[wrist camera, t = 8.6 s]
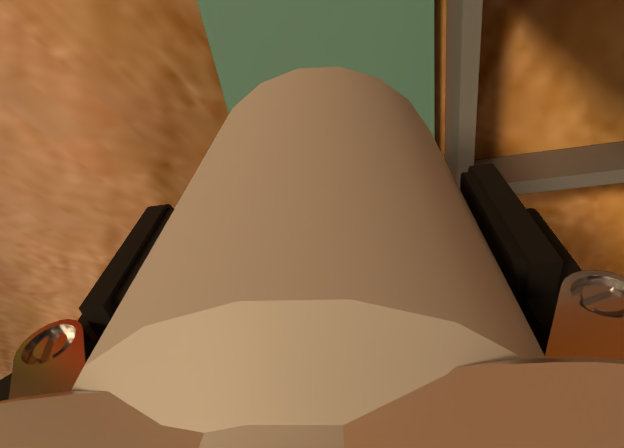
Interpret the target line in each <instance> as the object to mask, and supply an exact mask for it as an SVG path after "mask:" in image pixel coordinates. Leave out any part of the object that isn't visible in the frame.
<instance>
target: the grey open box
mask: <svg viewBox="0 0 624 448" xmlns="http://www.w3.org/2000/svg"><path fill="white" fill-rule="evenodd" d="M482 8H483V0H447V17H446V98H445V161H446V163H447V165H448V167H449V169H450V171H451V173H452V175H453V177H454V179H455V181H456V183H457V185H458V187H459V189H460V178H461V173H462V172H468V168H469V166H474V165H482V164H490V163H493V164H494V165H495V167H496V168H497V169H498V171H499V172H500V173H501V175H502V176H503V178H504V179H505V180H506V182H507V183H508V185H509V186H510V187H511V189H512V190H513V192H514V193H515V194H516V195H521V194H529V193H538V192H547V191H555V190H564V189H573V188H581V187H590V186H599V185H607V184H616V183H624V141H622V142H614V143H606V144H598V145H590V146H582V147H575V148H567V149H559V150H551V151H543V152H535V153H527V154H519V155H511V156H504V157H496V158H488V159H480V160H474V153H475V135H476V117H477V99H478V81H479V62H480V44H481V26H482Z"/></svg>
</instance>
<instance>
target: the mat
mask: <svg viewBox="0 0 624 448" xmlns="http://www.w3.org/2000/svg"><path fill="white" fill-rule="evenodd" d="M197 2H198V6H199V9H200V13H201V17H202V20H203V24H204V27H205V31H206V34H207V38H208V41H209V45H210V48H211V52H212V56H213V59H214V63H215V66H216V70H217V73H218V77H219V80H220V84H221V87H222V91H223V95H224V98H225V102H226V105H227V109H228V112H229V114H230V112H231V110H232V108H233V107H234V106H235V105H237V104H238V103H239V102H240V101H241V100H242V99H243V98H245V97H246V96H247V95H248V94H249V93H250V92H251V91H253V90H254V89H255V88H256V87H257V86H258V85H259V84H261V83H263V82H265V81H268V80H270V79H273V78H275V77H278V76H280V75H283V74H285V73H288V72H290V71H293V70H295V69H300V68H319V67H342V68H345V69H349V70H352V71H356V72H359V73H363V74H367V75H370V76H374V77H377V78H379V79H380V80H381V81H383V82H384V83H386V84H387V85H389V86H390V87H391V88H393V89H394V90H396V91H397V92H399V93H400V94H401V95H403V96H404V97H406V98H407V99H409V101H410V102H411V104H412V105H413V107H414V108H415V109H416V111H417V112H418V114H419V115H420V117H421V118H422V120H423V121H424V122H425V124H426V125H427V127H428V128H429V130H430V132H431V134H432V136H433V138H434V140H435V127H434V0H197Z"/></svg>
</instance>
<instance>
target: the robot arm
mask: <svg viewBox="0 0 624 448" xmlns="http://www.w3.org/2000/svg"><path fill="white" fill-rule="evenodd" d="M460 191H461V193H462V195H463V196H464V198H465V200H466V202H467V204H468V206H469V208H470V210H471V212H472V214H473V216H474V218H475V220H476V222H477V224H478V226H479V228H480V230H481V232H482V234H483V236H484V238H485V240H486V242H487V244H488V246H489V248H490V249H491V251H492V253H493V255H494V257H495V259H496V261H497V263H498V265H499V267H500V269H501V271H502V273H503V275H504V277H505V279H506V281H507V283H508V285H509V287H510V289H511V291H512V293H513V295H514V297H515V299H516V300H517V302H518V304H519V306H520V308H521V310H522V312H523V314H524V316H525V318H526V320H527V322H528V324H529V326H530V328H531V330H532V332H533V334H534V336H535V338H536V340H537V342H538V344H539V346H540V348H541V350H542V351H543V353H544V355H545V358H533V359H511V360H501V361H491V362H484V363H477V364H470V365H464V366H458V367H455V368H454V369H453V370H451V371H450V372H449V373H448V374H446V375H444V376H442V377H440V378H438V379H436V380H434V381H432V382H430V383H428V384H426V385H424V386H422V387H420V388H418V389H416V390H414V391H412V392H410V393H408V394H406V395H404V396H402V397H400V398H398V399H396V400H394V401H391V402H389V403H387V404H385V405H383V406H381V407H379V408H377V409H375V410H373V411H371V412H369V413H367V414H365V415H363V416H361V417H359V418H357V419H355V420H353V421H351V422H349V423H347V424H344V425H343V435H344V448H624V277H623V276H621V275H618V274H614V273H611V272H607V271H599V270H585V271H582V270H581V269H580V267H579V266H578V265H577V263H576V262H575V261H574V259H573V258H572V257H571V255H570V254H569V253H568V251H567V250H566V249H565V248H564V246H563V245H562V244H561V242H560V241H559V240H558V238H557V237H556V236H555V234H554V233H553V232H552V230H551V229H550V228H549V226H548V225H547V224H546V222H545V221H544V220H543V218H542V217H541V216H540V214H539V213H538V212H537V211H536V210H535V209H532V208H529V209H526V208H525V207H524V206H523V204H522V203H521V201H520V200H519V199H518V197H517V196H516V194H515V193H514V192H513V190H512V189H511V187H510V186H509V185H508V183H507V182H506V180H505V179H504V178H503V176H502V175H501V173H500V172H499V171H498V169H497V168H496V167H495V165H494V164H493V163H490V164H482V165H474V166H469V168H468V172H462V173H461V178H460ZM173 211H174V209H173V207H172V206H171V205H169V204H166V205H158V206H151V207H148V208H147V209H146V210H145V212H144V213H143V215H142V216H141V218H140V219H139V221H138V222H137V224H136V225H135V226H134V228H133V229H132V231H131V232H130V234H129V235H128V237H127V238H126V240H125V241H124V243H123V244H122V246H121V247H120V248H119V250H118V251H117V253H116V254H115V256H114V257H113V259H112V260H111V262H110V263H109V265H108V266H107V268H106V269H105V271H104V272H103V273H102V275H101V276H100V278H99V279H98V281H97V282H96V284H95V285H94V287H93V288H92V290H91V291H90V293H89V294H88V296H87V297H86V298H85V300H84V301H83V303H82V304H81V306H80V307H79V310H80V311H81V313H82V315H81V317H80V318H79V320H78V321H76V320H71V319H66V320H59V321H56V322H53V323H51V324H48V325H46V326H44V327H42V328H41V329H39V330H37V331H36V332H35V333H33V334H32V335H30V336H29V337H28V338H27V339H26V340H25V341H24V342H23V343H22V344H21V345H20V347H19V348H18V350H17V351H16V354H15V357H14V360H13V368H12V373H11V374H9V375H8V376H6V377H4V378H3V379H1V380H0V448H199V446H200V443H201V440H202V438H203V435H204V433H202V432H197V431H191V430H186V429H180V428H174V427H169V426H163V425H161V424H159V423H158V422H156V421H154V420H153V419H151V418H150V417H148V416H146V415H145V414H143V413H142V412H140V411H139V410H137V409H135V408H134V407H132V406H131V405H129V404H127V403H126V402H124V401H123V400H121V399H120V398H118V397H116V396H115V395H113V394H112V393H110V392H109V391H71V390H72V388H73V386H74V384H75V382H76V380H77V379H78V377H79V375H80V373H81V371H82V369H83V367H84V365H85V364H86V362H87V360H88V358H89V357H90V355H91V353H92V351H93V350H94V348H95V346H96V345H97V343H98V341H99V339H100V338H101V336H102V334H103V332H104V331H105V329H106V327H107V325H108V324H109V322H110V320H111V318H112V317H113V315H114V313H115V312H116V310H117V308H118V306H119V305H120V303H121V301H122V299H123V298H124V296H125V294H126V292H127V291H128V289H129V287H130V285H131V284H132V282H133V280H134V279H135V277H136V275H137V273H138V272H139V270H140V268H141V266H142V265H143V263H144V261H145V259H146V258H147V256H148V254H149V252H150V251H151V249H152V247H153V246H154V244H155V242H156V240H157V239H158V237H159V235H160V233H161V232H162V230H163V228H164V226H165V225H166V223H167V221H168V220H169V218H170V216H171V214H172V213H173Z"/></svg>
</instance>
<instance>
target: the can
mask: <svg viewBox="0 0 624 448" xmlns="http://www.w3.org/2000/svg"><path fill="white" fill-rule="evenodd" d="M533 358H545V355H544V353H543V351H542V350H541V348H540V346H539V344H538V342H537V340H536V338H535V336H534V334H533V332H532V330H531V328H530V326H529V324H528V322H527V320H526V318H525V316H524V314H523V312H522V310H521V308H520V306H519V304H518V302H517V300H516V299H515V297H514V295H513V293H512V291H511V289H510V287H509V285H508V283H507V281H506V279H505V277H504V275H503V273H502V271H501V269H500V267H499V265H498V263H497V261H496V259H495V257H494V255H493V253H492V251H491V249H490V248H489V246H488V244H487V242H486V240H485V238H484V236H483V234H482V232H481V230H480V228H479V226H478V224H477V222H476V220H475V218H474V216H473V214H472V212H471V210H470V208H469V206H468V204H467V202H466V200H465V198H464V196H463V195H462V193H461V191H460V189H459V187H458V185H457V183H456V181H455V179H454V177H453V175H452V173H451V171H450V169H449V167H448V165H447V163H446V161H445V159H444V157H443V155H442V153H441V151H440V149H439V147H438V145H437V144H436V142H435V140H434V138H433V136H432V134H431V132H430V130H429V128H428V127H427V125H426V124H425V122H424V121H423V120H422V118H421V117H420V115H419V114H418V112H417V111H416V109H415V108H414V107H413V105H412V104H411V102H410V101H409V99H407V98H406V97H404V96H403V95H401V94H400V93H399V92H397V91H396V90H394V89H393V88H391V87H390V86H389V85H387V84H386V83H384V82H383V81H381V80H380V79H379V78H377V77H374V76H370V75H367V74H363V73H359V72H356V71H352V70H349V69H345V68H342V67H319V68H300V69H295V70H293V71H290V72H288V73H285V74H283V75H280V76H278V77H275V78H273V79H270V80H268V81H265V82H263V83H261V84H259V85H258V86H257V87H256V88H255V89H254V90H253V91H251V92H250V93H249V94H248V95H247V96H246V97H245V98H243V99H242V100H241V101H240V102H239V103H238V104H237V105H235V106H234V107H233V108H232V110H231V112H230V114H229V115H228V117H227V119H226V121H225V122H224V124H223V126H222V128H221V129H220V131H219V133H218V134H217V136H216V138H215V140H214V141H213V143H212V145H211V147H210V148H209V150H208V152H207V154H206V155H205V157H204V159H203V160H202V162H201V164H200V166H199V167H198V169H197V171H196V173H195V174H194V176H193V178H192V180H191V181H190V183H189V185H188V187H187V188H186V190H185V192H184V193H183V195H182V197H181V199H180V200H179V202H178V204H177V206H176V207H175V209H174V211H173V213H172V214H171V216H170V218H169V220H168V221H167V223H166V225H165V226H164V228H163V230H162V232H161V233H160V235H159V237H158V239H157V240H156V242H155V244H154V246H153V247H152V249H151V251H150V252H149V254H148V256H147V258H146V259H145V261H144V263H143V265H142V266H141V268H140V270H139V272H138V273H137V275H136V277H135V279H134V280H133V282H132V284H131V285H130V287H129V289H128V291H127V292H126V294H125V296H124V298H123V299H122V301H121V303H120V305H119V306H118V308H117V310H116V312H115V313H114V315H113V317H112V318H111V320H110V322H109V324H108V325H107V327H106V329H105V331H104V332H103V334H102V336H101V338H100V339H99V341H98V343H97V345H96V346H95V348H94V350H93V351H92V353H91V355H90V357H89V358H88V360H87V362H86V364H85V365H84V367H83V369H82V371H81V373H80V375H79V377H78V379H77V380H76V382H75V384H74V386H73V388H72V390H71V391H109V392H110V393H112V394H113V395H115V396H116V397H118V398H120V399H121V400H123V401H124V402H126V403H127V404H129V405H131V406H132V407H134V408H135V409H137V410H139V411H140V412H142V413H143V414H145V415H146V416H148V417H150V418H151V419H153V420H154V421H156V422H158V423H159V424H161V425H163V426H169V427H174V428H180V429H186V430H191V431H197V432H202V433H204V435H203V438H202V440H201V443H200V446H199V448H344V435H343V425H344V424H347V423H349V422H351V421H353V420H355V419H357V418H359V417H361V416H363V415H365V414H367V413H369V412H371V411H373V410H375V409H377V408H379V407H381V406H383V405H385V404H387V403H389V402H391V401H394V400H396V399H398V398H400V397H402V396H404V395H406V394H408V393H410V392H412V391H414V390H416V389H418V388H420V387H422V386H424V385H426V384H428V383H430V382H432V381H434V380H436V379H438V378H440V377H442V376H444V375H446V374H448V373H449V372H450V371H451V370H453V369H454V368H455V367H458V366H464V365H470V364H477V363H484V362H491V361H501V360H511V359H533Z"/></svg>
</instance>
